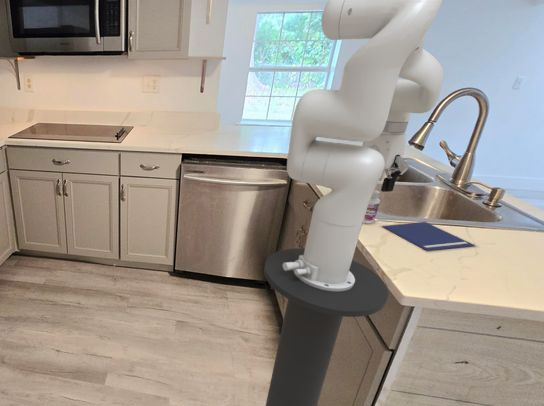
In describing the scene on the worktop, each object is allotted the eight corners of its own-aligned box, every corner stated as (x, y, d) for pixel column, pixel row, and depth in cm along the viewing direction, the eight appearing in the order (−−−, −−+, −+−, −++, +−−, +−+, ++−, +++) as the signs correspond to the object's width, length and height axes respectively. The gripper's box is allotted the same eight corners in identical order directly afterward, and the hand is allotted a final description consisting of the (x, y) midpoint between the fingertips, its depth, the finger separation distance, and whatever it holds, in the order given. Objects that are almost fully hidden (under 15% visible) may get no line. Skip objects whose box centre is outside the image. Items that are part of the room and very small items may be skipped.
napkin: (427, 251, 94) (427, 249, 94) (382, 226, 107) (382, 225, 107) (474, 246, 96) (475, 244, 96) (424, 222, 109) (425, 221, 108)
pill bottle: (361, 224, 109) (369, 194, 105) (348, 217, 114) (356, 188, 110) (378, 223, 109) (387, 193, 105) (365, 216, 114) (373, 187, 110)
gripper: (353, 122, 107) (339, 177, 114) (405, 133, 92) (385, 196, 98) (375, 121, 108) (361, 175, 115) (431, 132, 92) (410, 195, 99)
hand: (372, 185), depth 106 cm, fingers open, 9 cm apart
